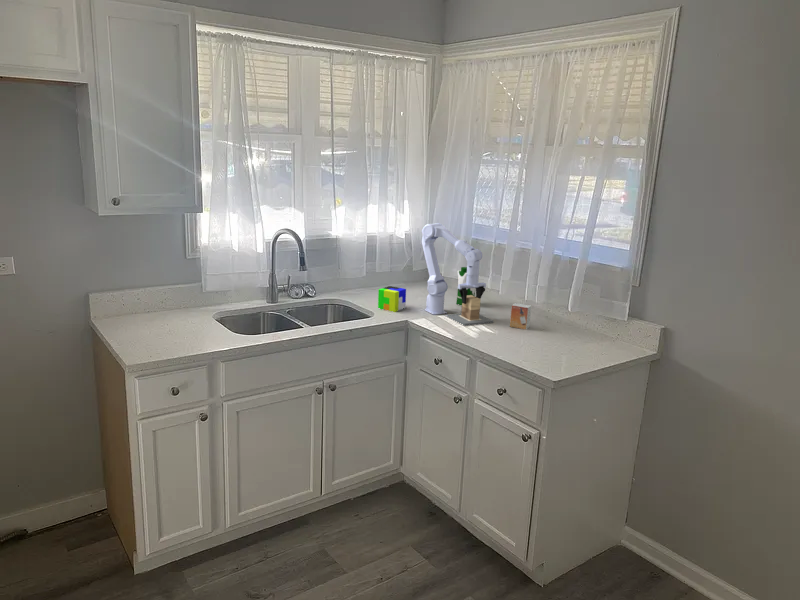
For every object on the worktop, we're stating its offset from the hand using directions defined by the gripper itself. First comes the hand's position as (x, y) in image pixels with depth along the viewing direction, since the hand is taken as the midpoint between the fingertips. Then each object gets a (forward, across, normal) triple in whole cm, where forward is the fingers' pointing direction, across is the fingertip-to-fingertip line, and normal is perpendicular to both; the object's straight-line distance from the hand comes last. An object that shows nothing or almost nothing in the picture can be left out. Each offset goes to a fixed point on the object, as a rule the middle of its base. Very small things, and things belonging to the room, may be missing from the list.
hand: (470, 302), depth 291 cm
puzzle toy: (+9, -27, +31) cm, 42 cm away
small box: (+9, +16, -18) cm, 26 cm away
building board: (+8, 0, 0) cm, 8 cm away
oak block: (+2, 0, 0) cm, 2 cm away
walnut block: (+7, 0, 0) cm, 7 cm away
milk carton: (+9, +13, +25) cm, 29 cm away
